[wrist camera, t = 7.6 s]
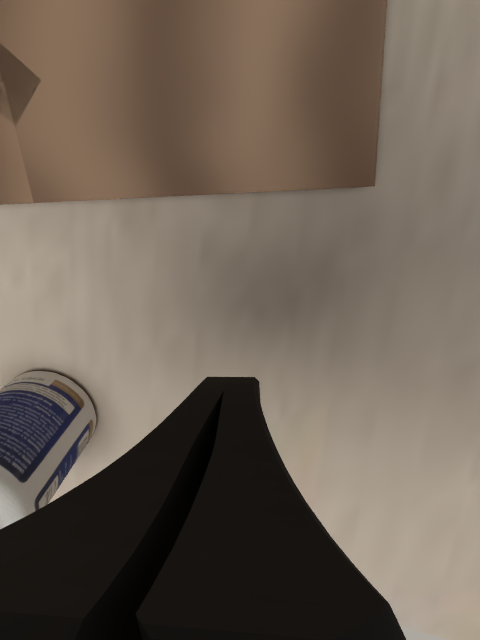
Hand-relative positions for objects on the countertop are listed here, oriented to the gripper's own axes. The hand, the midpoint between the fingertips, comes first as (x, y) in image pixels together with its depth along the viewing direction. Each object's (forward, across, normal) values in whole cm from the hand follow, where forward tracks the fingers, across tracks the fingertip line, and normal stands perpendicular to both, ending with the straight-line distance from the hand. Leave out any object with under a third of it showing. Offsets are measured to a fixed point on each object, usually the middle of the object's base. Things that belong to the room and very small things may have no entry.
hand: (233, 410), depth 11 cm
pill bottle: (+10, +12, +7) cm, 17 cm away
